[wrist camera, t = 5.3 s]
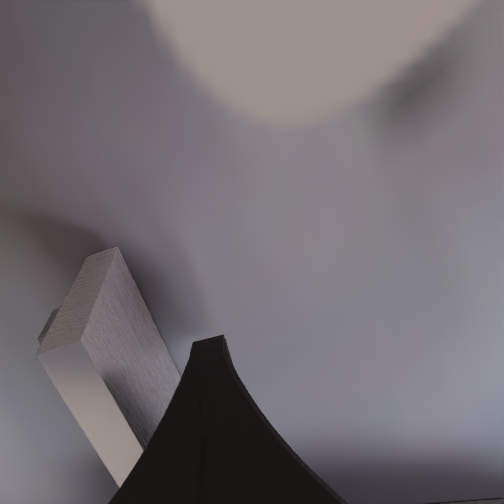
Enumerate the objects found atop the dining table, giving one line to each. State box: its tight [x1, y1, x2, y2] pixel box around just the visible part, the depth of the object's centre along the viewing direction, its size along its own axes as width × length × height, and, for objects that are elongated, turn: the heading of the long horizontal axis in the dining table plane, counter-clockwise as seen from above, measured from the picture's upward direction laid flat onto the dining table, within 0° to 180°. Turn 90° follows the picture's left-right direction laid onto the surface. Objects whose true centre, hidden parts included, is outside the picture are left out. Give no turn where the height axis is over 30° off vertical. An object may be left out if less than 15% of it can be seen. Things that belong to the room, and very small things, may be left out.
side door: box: [35, 246, 181, 488], centre depth 10 cm, size 10×1×4 cm, turn 17°
